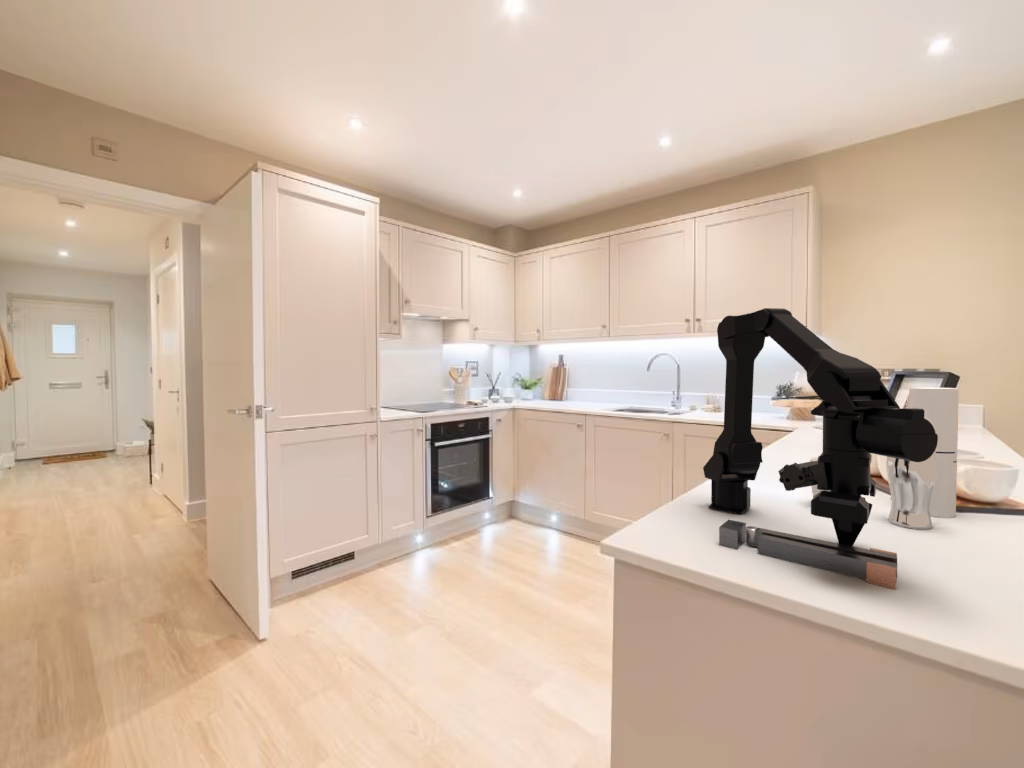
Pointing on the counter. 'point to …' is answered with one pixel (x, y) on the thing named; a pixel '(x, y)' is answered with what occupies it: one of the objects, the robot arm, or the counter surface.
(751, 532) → the bar
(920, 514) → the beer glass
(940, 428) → the beige tall box
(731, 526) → the base
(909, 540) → the counter surface
